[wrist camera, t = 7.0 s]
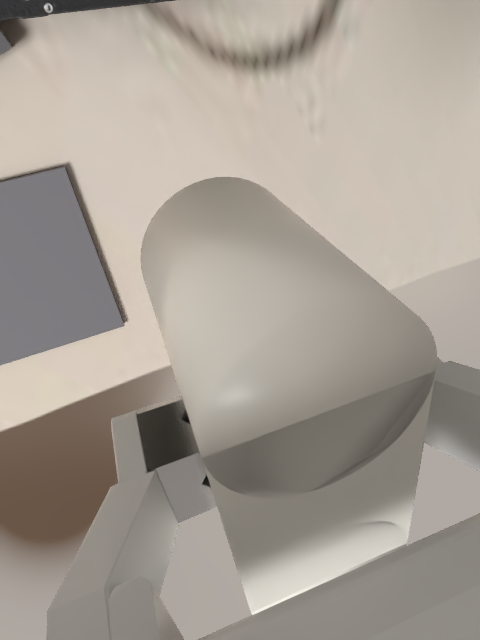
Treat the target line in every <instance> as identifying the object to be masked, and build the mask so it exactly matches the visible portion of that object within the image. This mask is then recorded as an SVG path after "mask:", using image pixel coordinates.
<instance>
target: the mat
mask: <svg viewBox="0 0 480 640" xmlns="http://www.w3.org/2000/svg"><path fill="white" fill-rule="evenodd" d="M122 326H124V323H123V320H122V317H121V315H120V312H119V309H118V307H117V304H116V301H115V299H114V296H113V293H112V291H111V288H110V285H109V283H108V280H107V277H106V275H105V272H104V269H103V267H102V264H101V262H100V259H99V256H98V254H97V251H96V248H95V246H94V243H93V240H92V238H91V235H90V232H89V230H88V227H87V224H86V222H85V219H84V216H83V214H82V211H81V208H80V206H79V203H78V200H77V198H76V195H75V192H74V190H73V187H72V185H71V182H70V179H69V177H68V174H67V171H66V169H65V166H61V167H57V168H53V169H49V170H45V171H41V172H36V173H32V174H28V175H24V176H20V177H16V178H12V179H7V180H3V181H0V365H3V364H6V363H9V362H12V361H15V360H19V359H22V358H25V357H28V356H31V355H34V354H37V353H41V352H44V351H47V350H50V349H53V348H56V347H59V346H63V345H66V344H69V343H72V342H75V341H78V340H81V339H85V338H88V337H91V336H94V335H97V334H100V333H104V332H107V331H110V330H113V329H116V328H119V327H122Z"/></svg>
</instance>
